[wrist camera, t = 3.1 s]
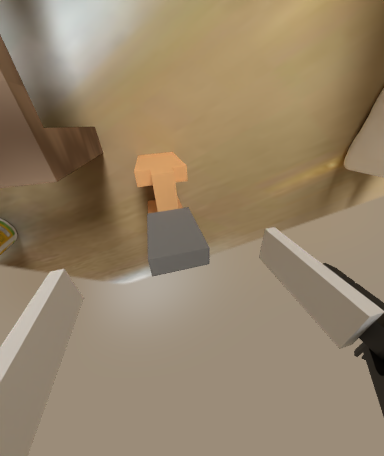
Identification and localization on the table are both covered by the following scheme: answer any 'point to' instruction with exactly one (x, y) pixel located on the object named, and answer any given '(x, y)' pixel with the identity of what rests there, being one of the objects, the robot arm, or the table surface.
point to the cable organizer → (369, 143)
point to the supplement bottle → (6, 235)
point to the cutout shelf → (35, 137)
